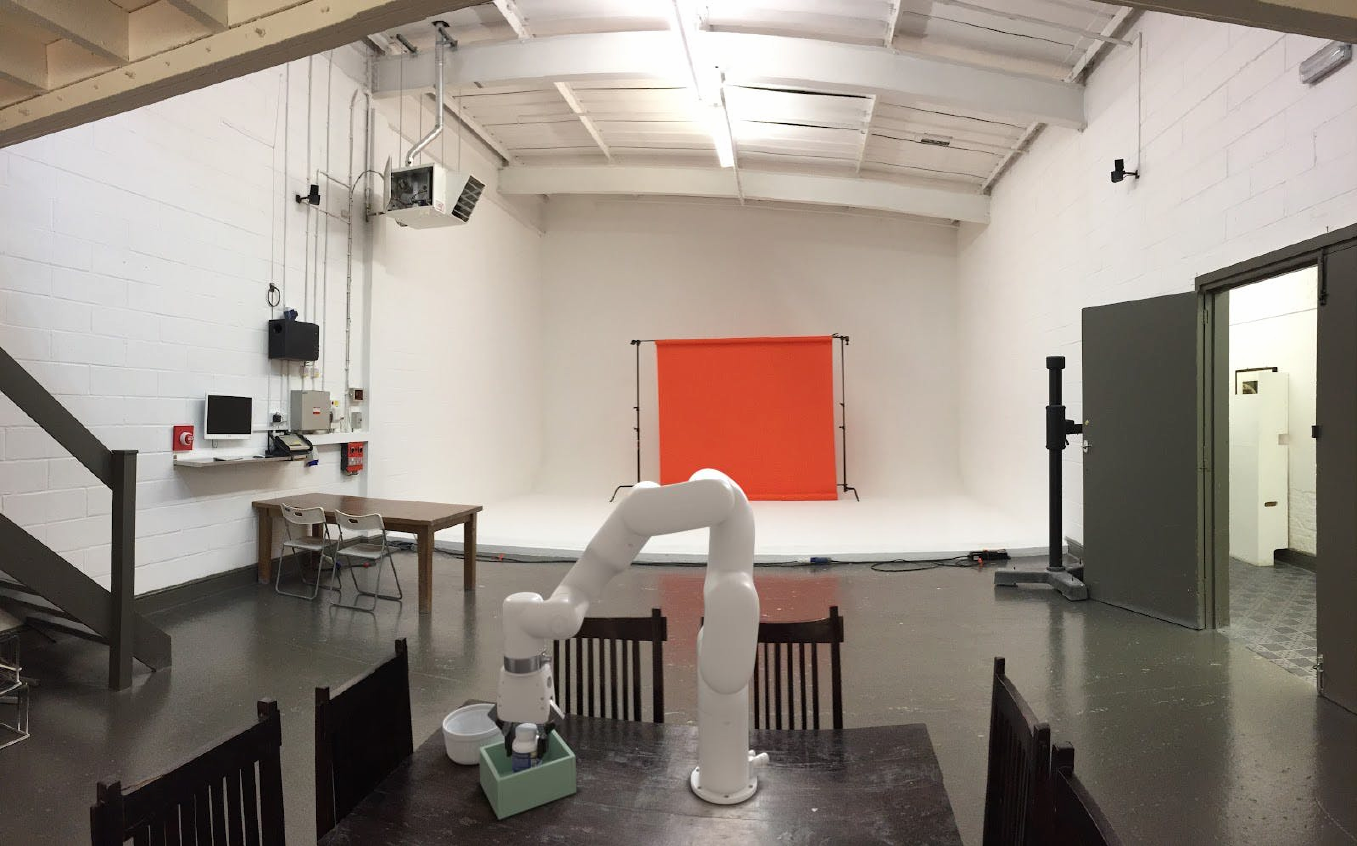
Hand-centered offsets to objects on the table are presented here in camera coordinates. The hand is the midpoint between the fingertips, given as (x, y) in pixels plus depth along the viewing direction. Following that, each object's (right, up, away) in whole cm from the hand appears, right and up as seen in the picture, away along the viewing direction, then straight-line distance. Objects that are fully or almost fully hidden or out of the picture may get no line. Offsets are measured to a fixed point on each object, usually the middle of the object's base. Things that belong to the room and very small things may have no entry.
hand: (527, 753), depth 123 cm
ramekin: (-14, -6, +13) cm, 20 cm away
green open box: (0, -7, 0) cm, 7 cm away
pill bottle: (0, -5, 0) cm, 5 cm away
